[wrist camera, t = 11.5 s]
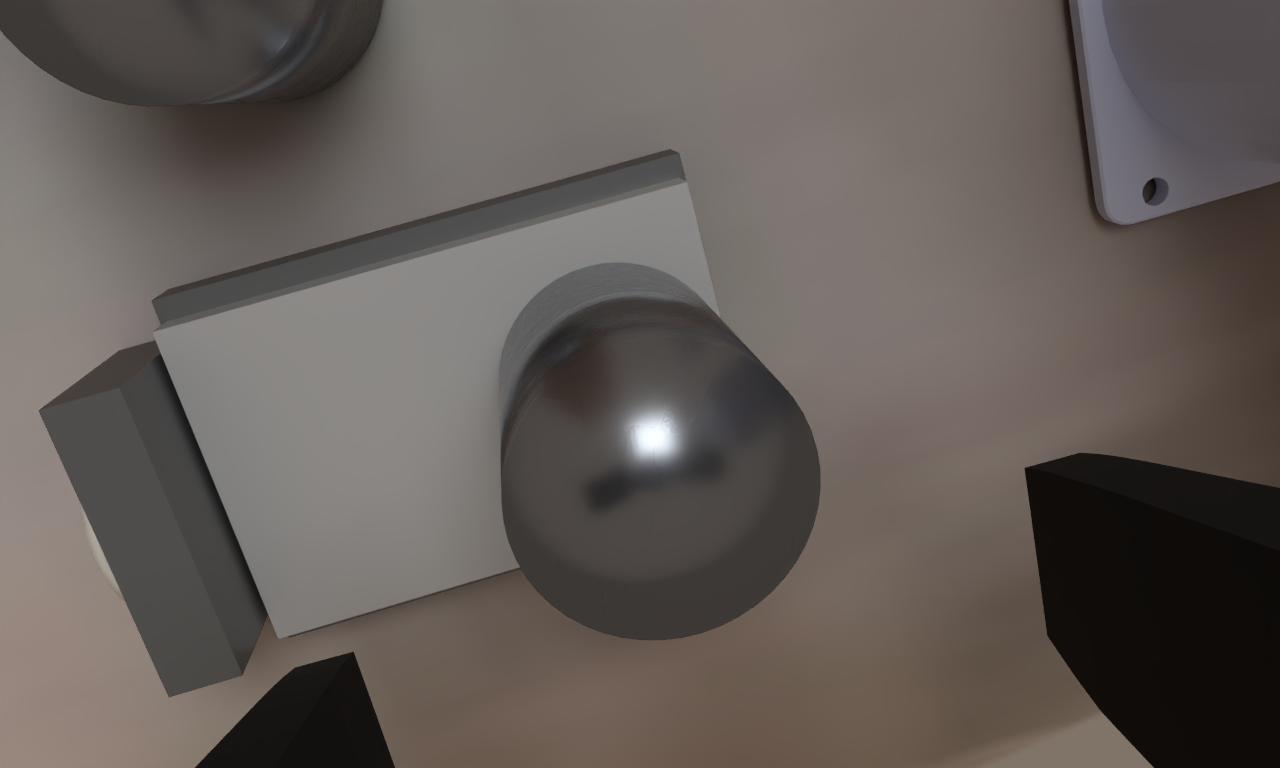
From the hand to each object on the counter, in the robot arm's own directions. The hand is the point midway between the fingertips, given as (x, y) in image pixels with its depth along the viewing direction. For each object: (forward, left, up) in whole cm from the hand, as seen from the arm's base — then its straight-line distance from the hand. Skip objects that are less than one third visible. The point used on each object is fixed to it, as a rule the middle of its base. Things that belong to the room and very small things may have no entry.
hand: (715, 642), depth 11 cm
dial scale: (+3, -1, -10) cm, 10 cm away
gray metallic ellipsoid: (0, -1, -8) cm, 8 cm away
